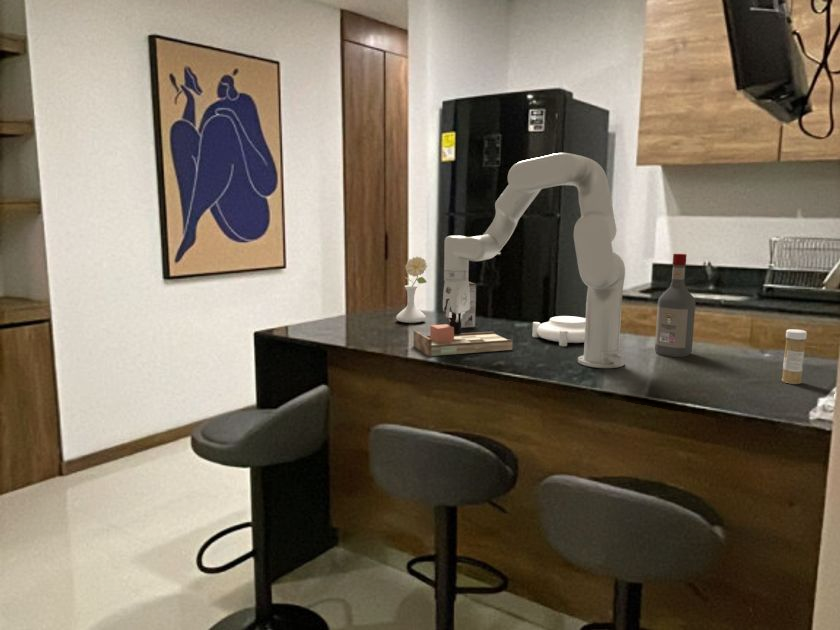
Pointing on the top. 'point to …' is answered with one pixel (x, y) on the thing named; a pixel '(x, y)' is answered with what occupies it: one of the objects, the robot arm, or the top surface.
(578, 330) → the round stand with pegs
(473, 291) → the coffee box
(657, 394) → the top surface
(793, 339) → the sprinkles bottle
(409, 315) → the flower in vase
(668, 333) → the liquor
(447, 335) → the block
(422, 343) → the board
